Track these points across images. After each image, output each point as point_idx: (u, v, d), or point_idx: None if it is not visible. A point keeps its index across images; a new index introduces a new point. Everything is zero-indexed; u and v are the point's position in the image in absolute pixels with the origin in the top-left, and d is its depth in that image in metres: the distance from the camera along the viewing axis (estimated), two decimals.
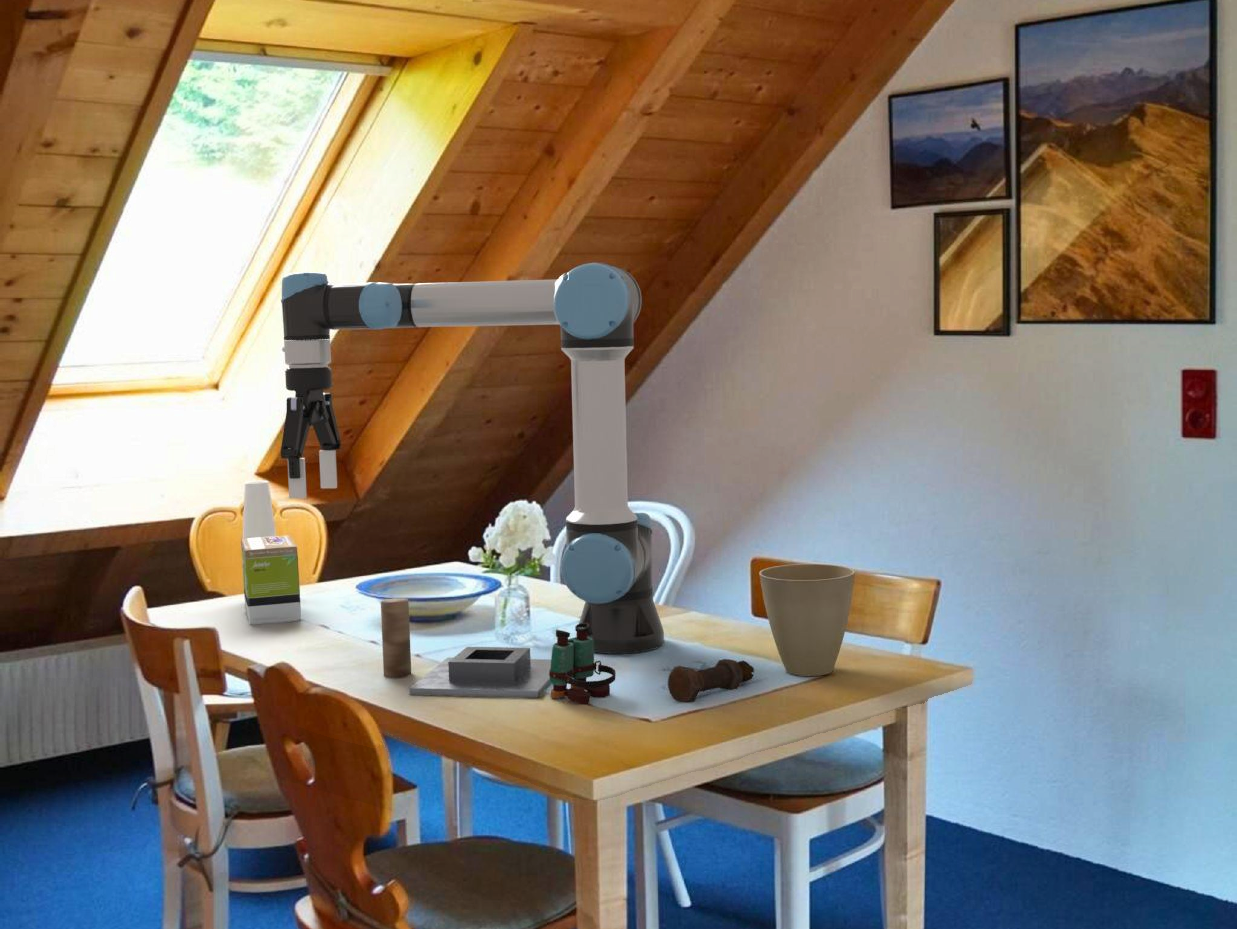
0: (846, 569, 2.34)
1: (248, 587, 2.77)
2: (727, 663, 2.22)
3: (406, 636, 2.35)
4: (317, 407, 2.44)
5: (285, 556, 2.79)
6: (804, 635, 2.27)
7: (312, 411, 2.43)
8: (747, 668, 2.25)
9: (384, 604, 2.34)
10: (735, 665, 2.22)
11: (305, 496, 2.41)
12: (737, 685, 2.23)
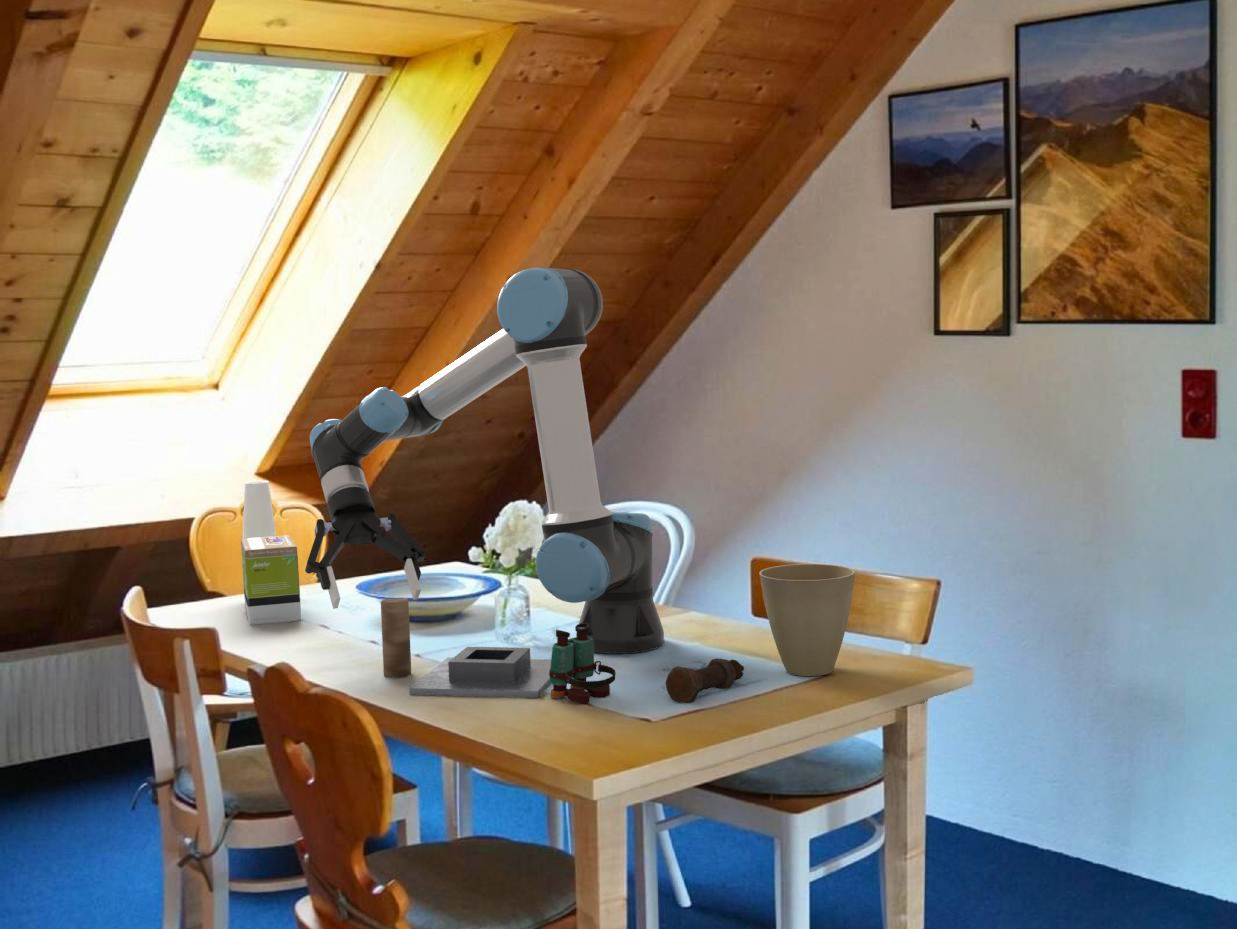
0: (846, 569, 2.34)
1: (248, 587, 2.77)
2: (720, 662, 2.23)
3: (406, 636, 2.35)
4: (350, 523, 2.47)
5: (285, 556, 2.79)
6: (805, 635, 2.27)
7: (343, 528, 2.47)
8: (738, 667, 2.26)
9: (384, 604, 2.34)
10: (728, 664, 2.23)
11: (337, 597, 2.38)
12: (730, 684, 2.23)
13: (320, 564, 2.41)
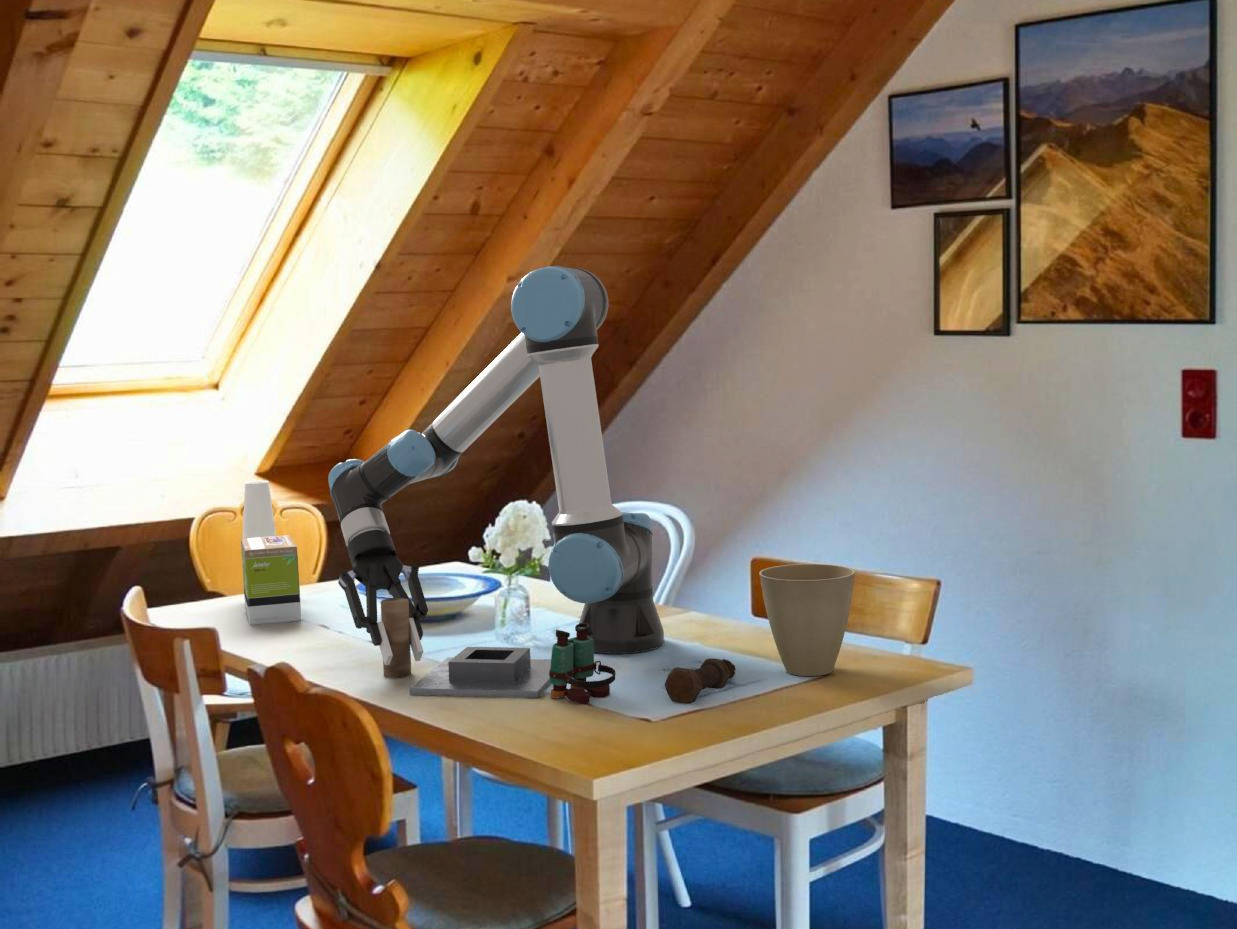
0: (846, 569, 2.34)
1: (248, 587, 2.77)
2: (715, 662, 2.23)
3: (406, 636, 2.35)
4: (373, 568, 2.40)
5: (285, 556, 2.79)
6: (805, 635, 2.27)
7: (369, 575, 2.40)
8: (730, 666, 2.26)
9: (384, 604, 2.34)
10: (722, 664, 2.24)
11: (389, 654, 2.31)
12: (724, 683, 2.24)
13: (371, 620, 2.35)
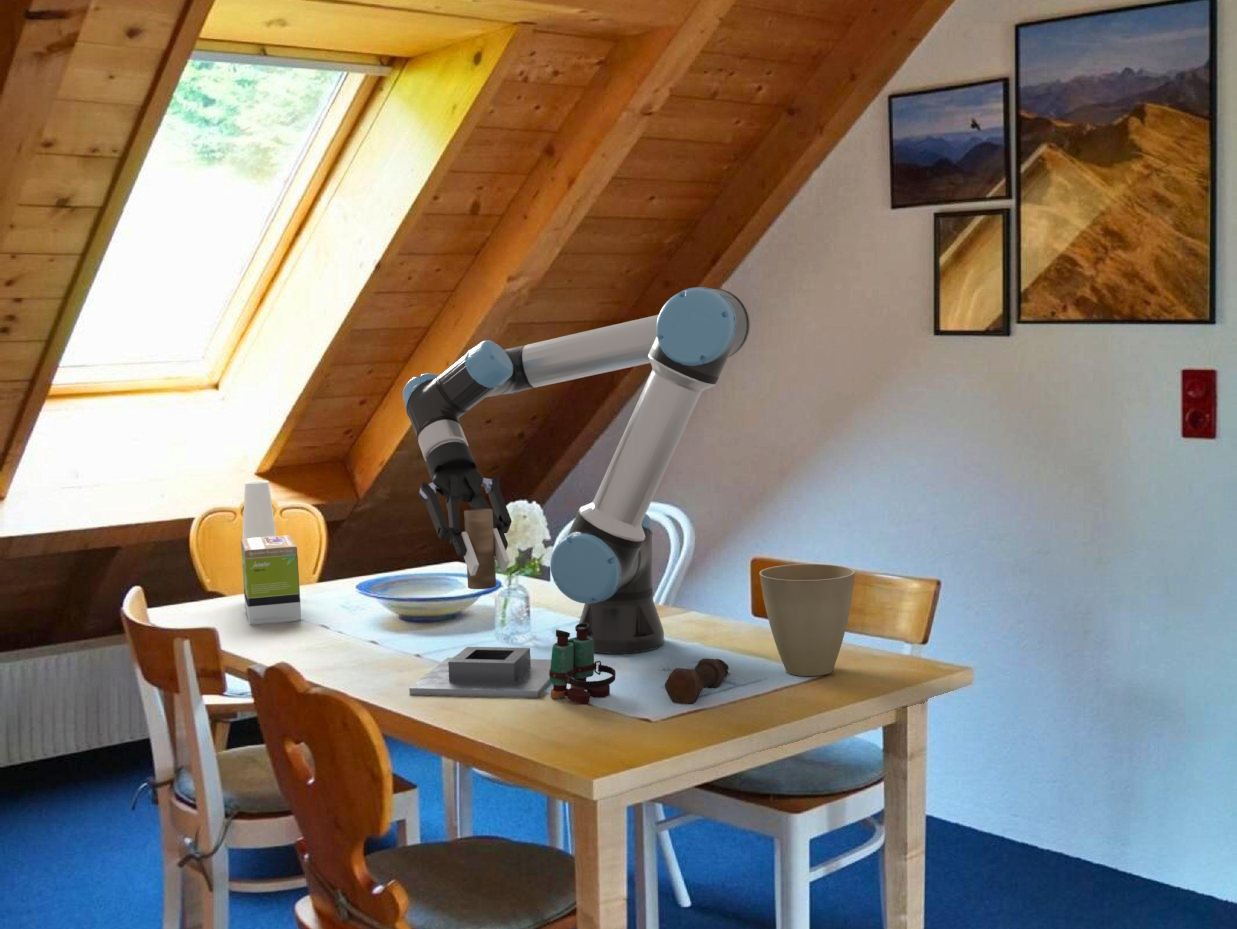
0: (846, 569, 2.34)
1: (248, 587, 2.77)
2: (711, 662, 2.23)
3: (490, 546, 2.29)
4: (454, 479, 2.34)
5: (285, 556, 2.79)
6: (805, 635, 2.27)
7: (450, 487, 2.34)
8: (724, 666, 2.27)
9: (468, 513, 2.28)
10: (718, 663, 2.24)
11: (475, 563, 2.25)
12: (720, 683, 2.24)
13: (455, 530, 2.29)
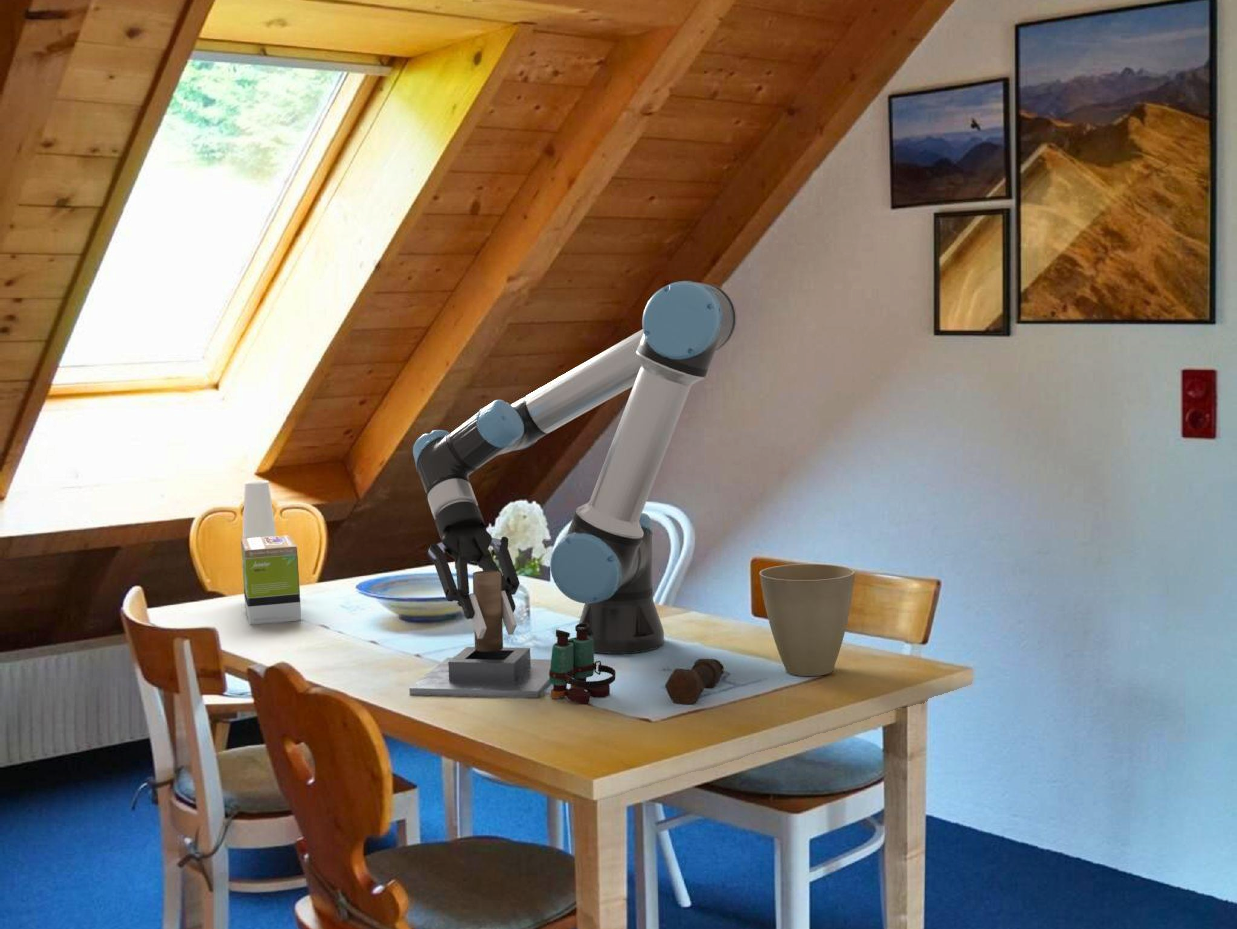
0: (846, 569, 2.34)
1: (248, 587, 2.77)
2: (708, 662, 2.23)
3: (498, 609, 2.30)
4: (463, 540, 2.35)
5: (285, 556, 2.79)
6: (805, 635, 2.27)
7: (459, 547, 2.34)
8: (719, 666, 2.27)
9: (477, 576, 2.29)
10: (715, 663, 2.24)
11: (483, 627, 2.26)
12: (716, 683, 2.24)
13: (464, 593, 2.29)
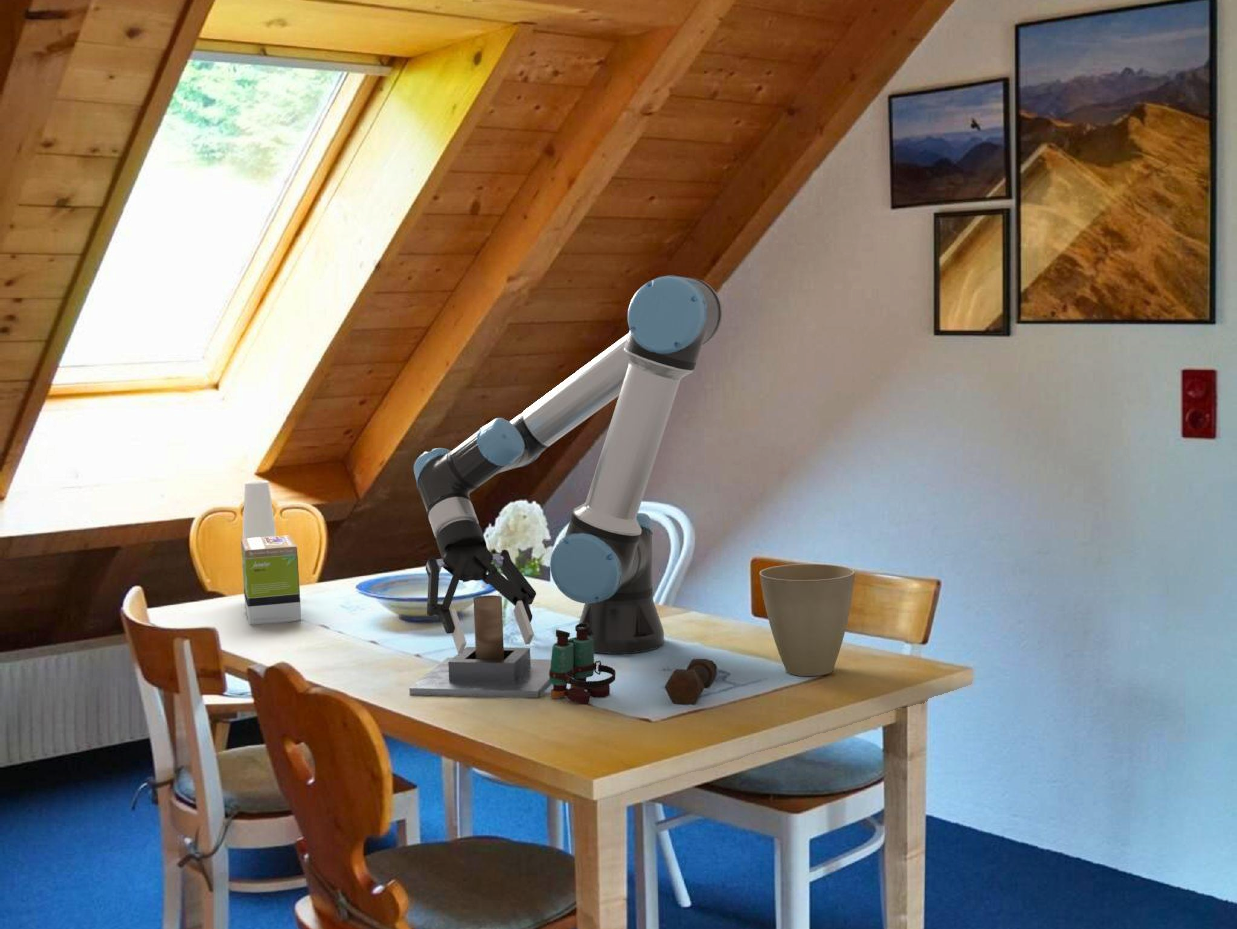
0: (846, 569, 2.34)
1: (248, 587, 2.77)
2: (703, 662, 2.24)
3: (499, 633, 2.30)
4: (462, 558, 2.35)
5: (285, 556, 2.79)
6: (805, 635, 2.27)
7: (456, 564, 2.35)
8: (713, 665, 2.27)
9: (477, 601, 2.29)
10: (710, 663, 2.24)
11: (463, 642, 2.26)
12: (711, 683, 2.25)
13: (443, 607, 2.29)
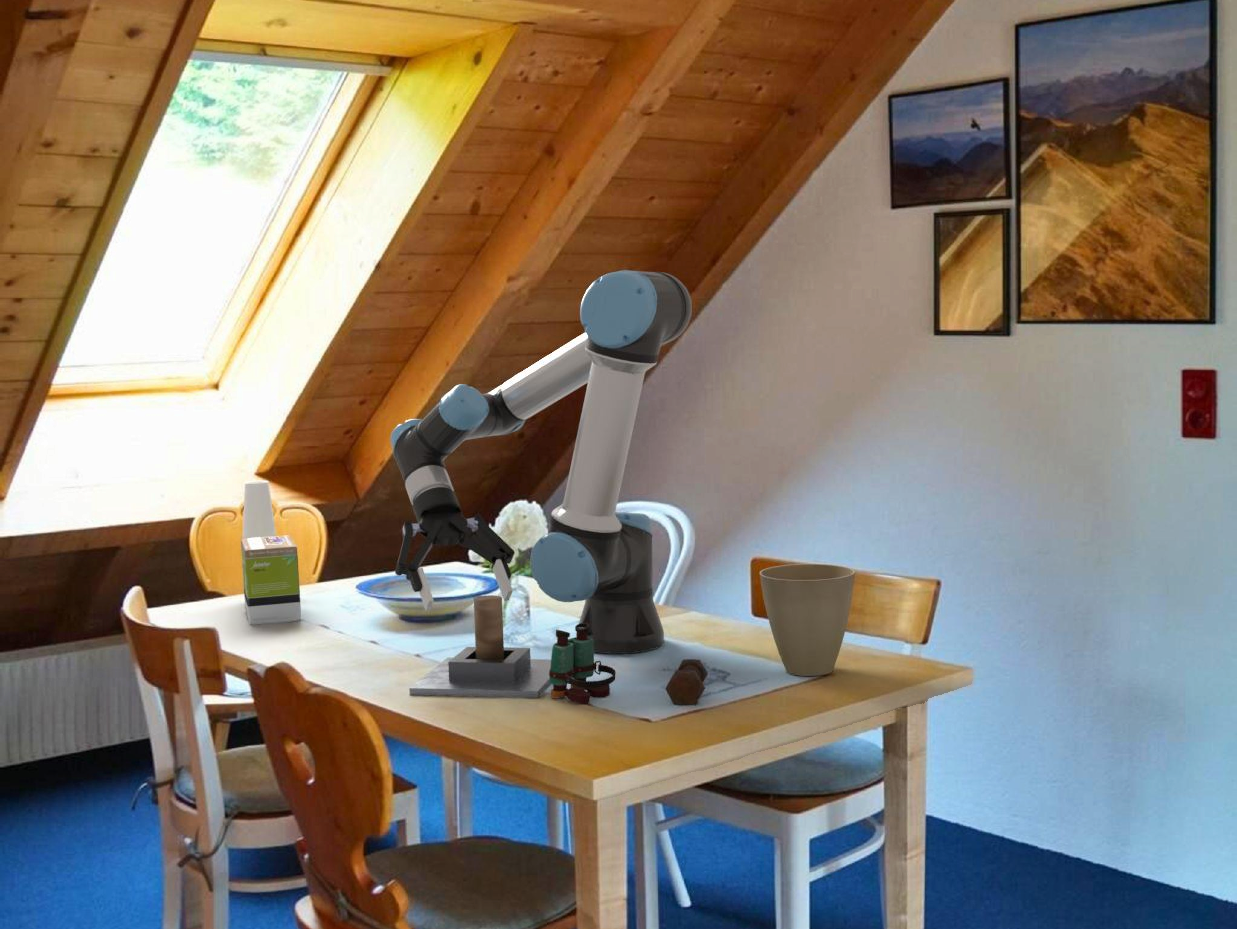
0: (846, 569, 2.34)
1: (248, 587, 2.77)
2: (694, 662, 2.24)
3: (500, 634, 2.30)
4: (438, 524, 2.43)
5: (285, 556, 2.79)
6: (805, 635, 2.27)
7: (431, 529, 2.43)
8: None
9: (478, 601, 2.29)
10: (701, 663, 2.24)
11: (430, 599, 2.34)
12: None
13: (411, 566, 2.37)
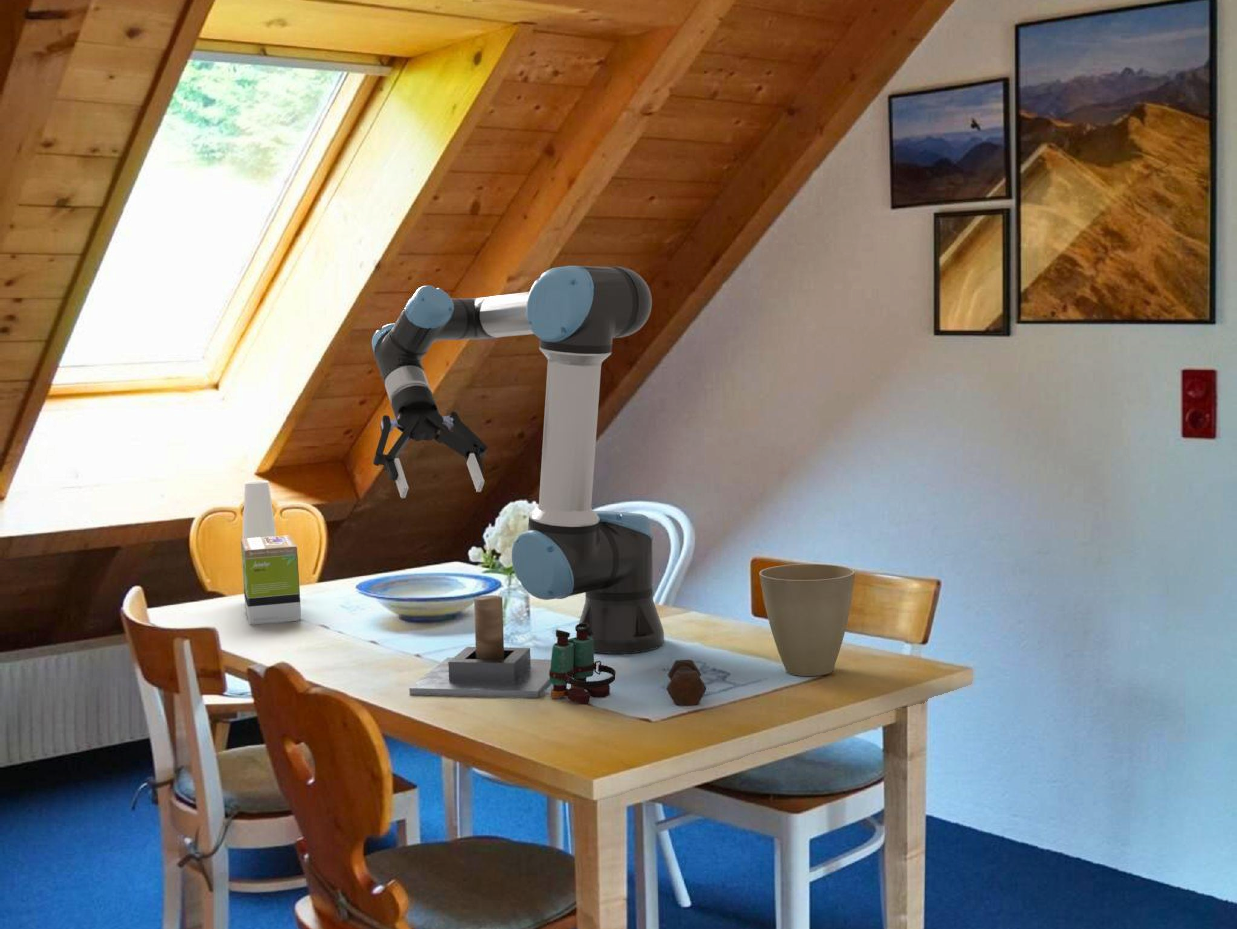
0: (846, 569, 2.34)
1: (248, 587, 2.77)
2: (688, 663, 2.23)
3: (500, 634, 2.30)
4: (414, 419, 2.56)
5: (285, 556, 2.79)
6: (805, 635, 2.27)
7: (408, 423, 2.56)
8: None
9: (478, 601, 2.29)
10: (694, 663, 2.24)
11: (405, 486, 2.46)
12: None
13: (388, 456, 2.50)
